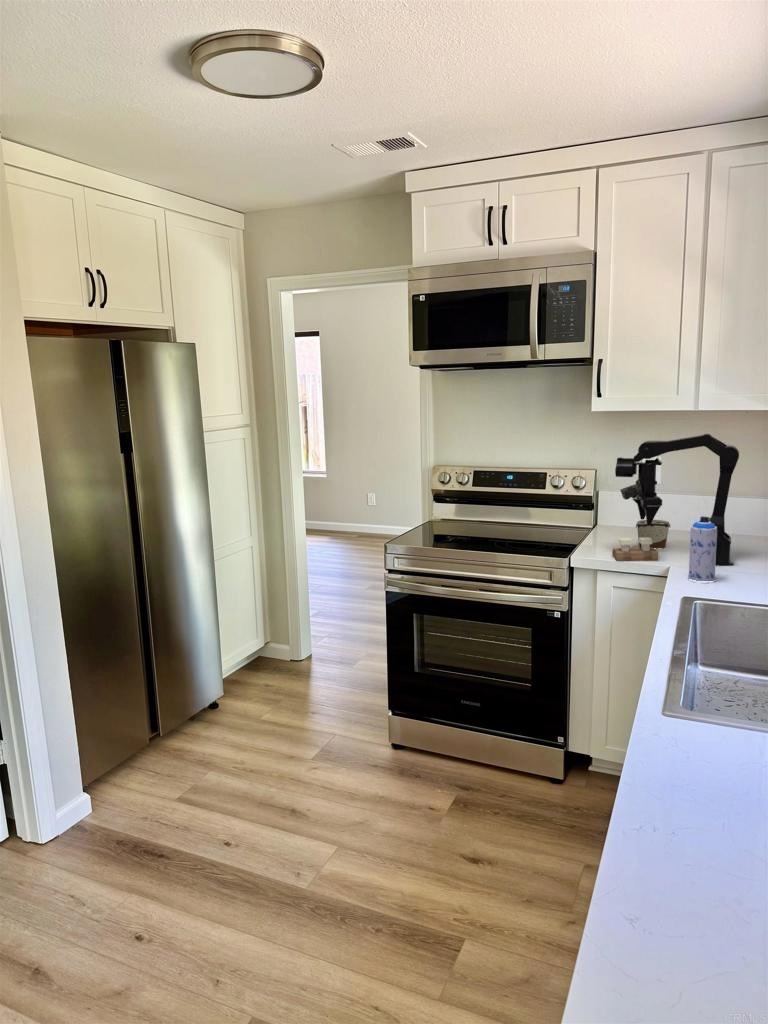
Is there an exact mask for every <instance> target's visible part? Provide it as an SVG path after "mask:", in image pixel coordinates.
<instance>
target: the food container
mask: <svg viewBox="0 0 768 1024" xmlns="http://www.w3.org/2000/svg"><path fill="white" fill-rule="evenodd" d="M669 528H670V529H671V523H670V521H667V520H662V519H661V520H660V519H653V521H652V523H651V524H650V525H647V521H646V519H640V520H638V521H636V525H635V529H637V536H638V540H637V541H638V548H641V543H639V538H647V537H650V538H651V539H652V544H650V548H656V549H655V550H659V549H658V548H662V549H661V550H665V549H664V548H666V549H667V541H668V535H669Z"/></svg>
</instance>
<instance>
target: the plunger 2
mask: <svg viewBox="0 0 768 1024" xmlns="http://www.w3.org/2000/svg"><path fill="white" fill-rule="evenodd" d="M639 543H641V550H642V551H649V550H650V544H652V539H651V538H650V537H647V538H639V541H638V544H639Z"/></svg>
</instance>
